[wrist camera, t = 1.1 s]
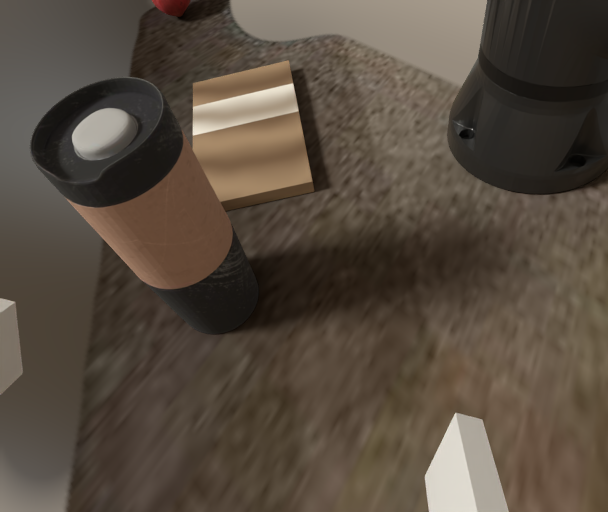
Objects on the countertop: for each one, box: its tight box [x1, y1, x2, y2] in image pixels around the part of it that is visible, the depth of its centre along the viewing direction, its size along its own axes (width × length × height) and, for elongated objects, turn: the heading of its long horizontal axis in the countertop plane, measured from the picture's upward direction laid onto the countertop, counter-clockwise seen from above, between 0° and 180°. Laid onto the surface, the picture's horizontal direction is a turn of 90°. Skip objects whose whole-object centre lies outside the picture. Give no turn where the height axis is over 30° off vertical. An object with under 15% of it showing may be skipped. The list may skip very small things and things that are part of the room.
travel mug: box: [30, 77, 259, 334], centre depth 32 cm, size 8×8×20 cm
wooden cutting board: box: [193, 60, 315, 211], centre depth 50 cm, size 20×12×2 cm, turn 8°
